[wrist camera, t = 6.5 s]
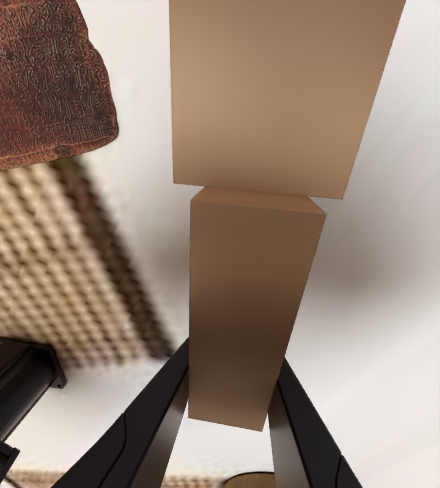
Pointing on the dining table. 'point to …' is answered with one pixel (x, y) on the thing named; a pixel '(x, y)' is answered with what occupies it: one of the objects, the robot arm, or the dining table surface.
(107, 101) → the wooden tablet
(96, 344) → the dining table surface
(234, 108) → the tan paddle
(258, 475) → the wooden container
